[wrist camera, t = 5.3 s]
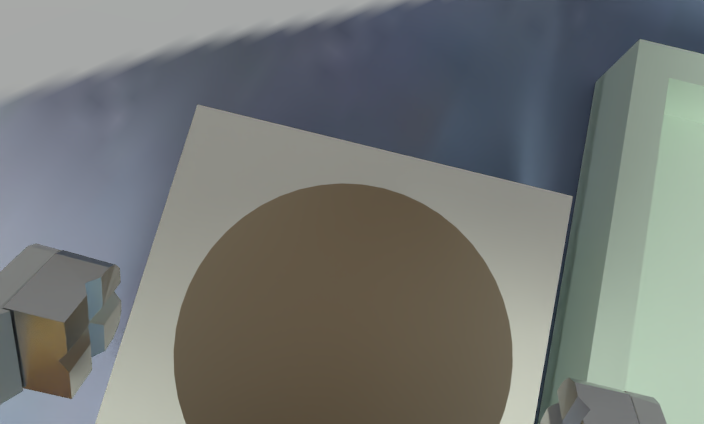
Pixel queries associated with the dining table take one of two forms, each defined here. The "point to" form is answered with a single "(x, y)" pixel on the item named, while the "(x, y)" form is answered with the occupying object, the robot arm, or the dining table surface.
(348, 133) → the dining table surface
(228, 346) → the dowel
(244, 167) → the socket block
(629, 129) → the tray
